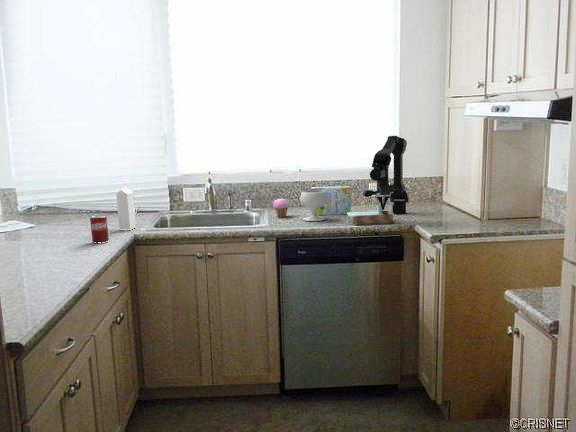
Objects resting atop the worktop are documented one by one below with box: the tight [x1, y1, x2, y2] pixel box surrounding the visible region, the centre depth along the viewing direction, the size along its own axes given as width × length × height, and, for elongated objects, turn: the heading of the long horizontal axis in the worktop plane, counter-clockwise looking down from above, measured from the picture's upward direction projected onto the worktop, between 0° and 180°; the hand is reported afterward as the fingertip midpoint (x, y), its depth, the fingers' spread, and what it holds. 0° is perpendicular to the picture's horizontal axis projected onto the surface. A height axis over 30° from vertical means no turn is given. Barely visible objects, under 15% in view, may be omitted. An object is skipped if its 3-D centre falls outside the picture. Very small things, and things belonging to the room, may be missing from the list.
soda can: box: [89, 214, 110, 243], centre depth 269 cm, size 7×7×12 cm
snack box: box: [310, 185, 352, 216], centre depth 319 cm, size 21×6×15 cm, turn 84°
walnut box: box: [352, 210, 394, 226], centre depth 292 cm, size 18×12×5 cm, turn 91°
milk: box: [115, 185, 137, 230], centre depth 297 cm, size 6×6×22 cm
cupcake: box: [272, 198, 290, 218], centre depth 318 cm, size 9×9×10 cm
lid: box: [346, 204, 384, 218], centre depth 291 cm, size 17×10×4 cm, turn 91°
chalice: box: [299, 189, 327, 222], centre depth 305 cm, size 14×14×15 cm
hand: (382, 209), depth 291 cm, fingers closed
